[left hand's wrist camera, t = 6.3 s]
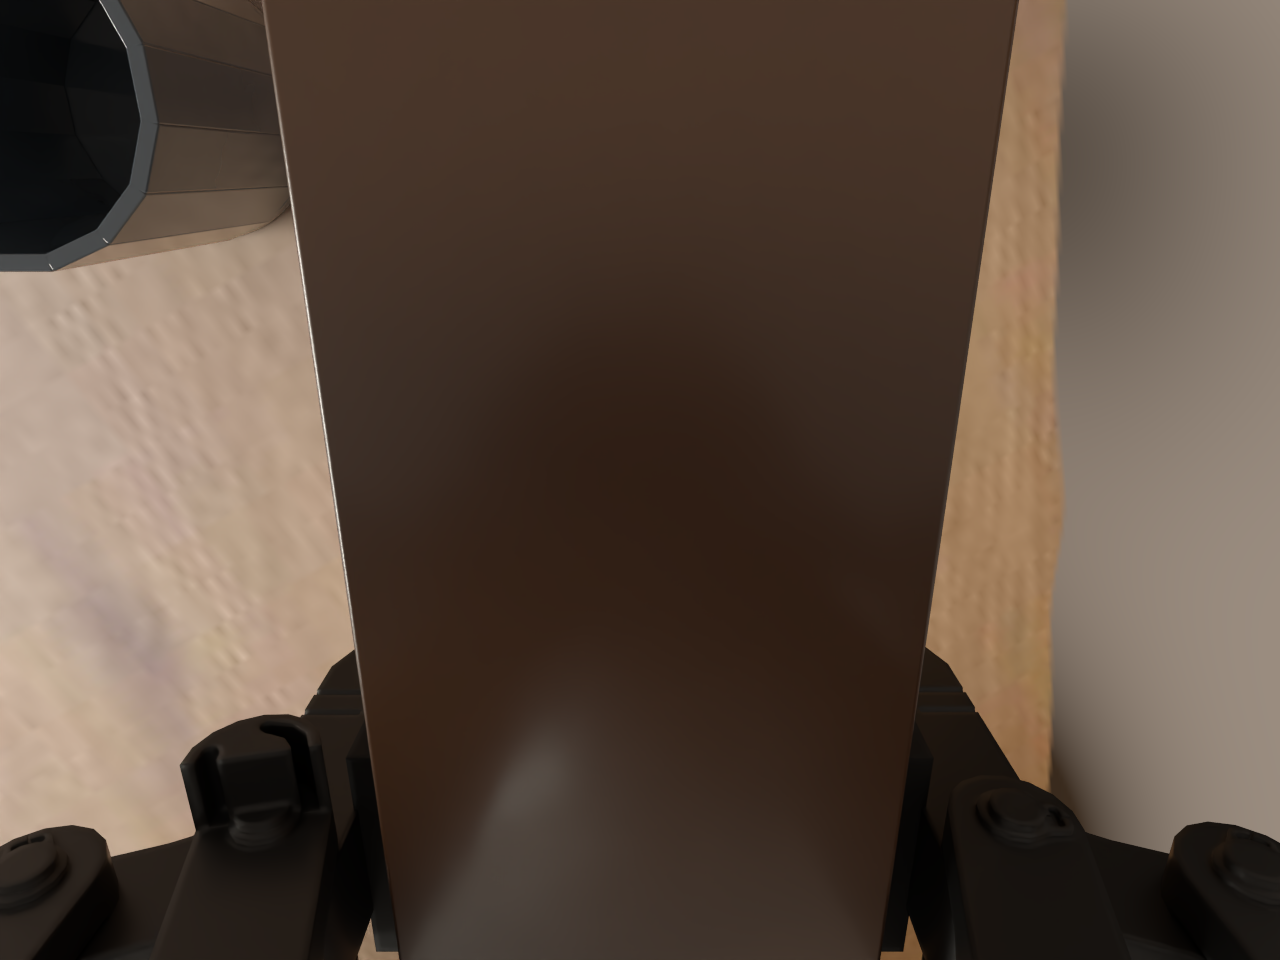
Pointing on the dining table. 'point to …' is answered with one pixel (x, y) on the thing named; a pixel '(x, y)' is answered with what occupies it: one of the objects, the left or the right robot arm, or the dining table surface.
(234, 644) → the dining table surface
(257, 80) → the cup
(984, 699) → the dining table surface
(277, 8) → the bar
